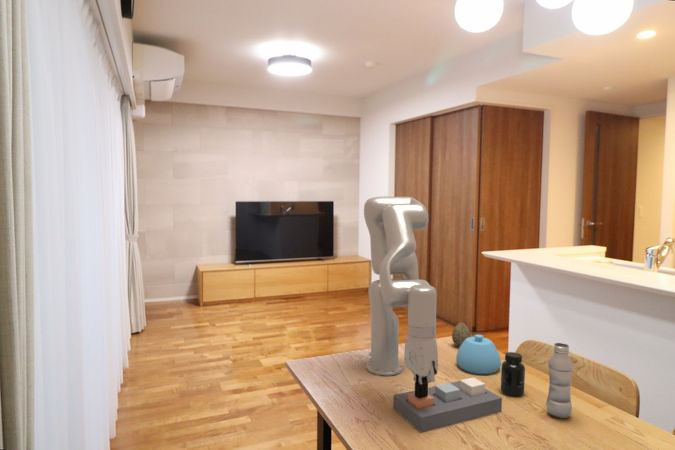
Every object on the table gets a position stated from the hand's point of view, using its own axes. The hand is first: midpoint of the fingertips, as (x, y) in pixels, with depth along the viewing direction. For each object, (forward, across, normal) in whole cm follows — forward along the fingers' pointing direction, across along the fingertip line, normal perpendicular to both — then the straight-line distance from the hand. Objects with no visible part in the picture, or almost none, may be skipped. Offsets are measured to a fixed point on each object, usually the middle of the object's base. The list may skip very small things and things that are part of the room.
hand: (421, 396), depth 125 cm
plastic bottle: (+6, +15, +36) cm, 39 cm away
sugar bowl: (+6, -21, +39) cm, 45 cm away
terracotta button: (+4, 0, 0) cm, 4 cm away
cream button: (+4, 0, +18) cm, 18 cm away
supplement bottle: (+6, -1, +35) cm, 35 cm away
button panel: (+6, 0, +9) cm, 11 cm away
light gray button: (+4, 0, +9) cm, 10 cm away
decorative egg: (+6, -40, +47) cm, 62 cm away
